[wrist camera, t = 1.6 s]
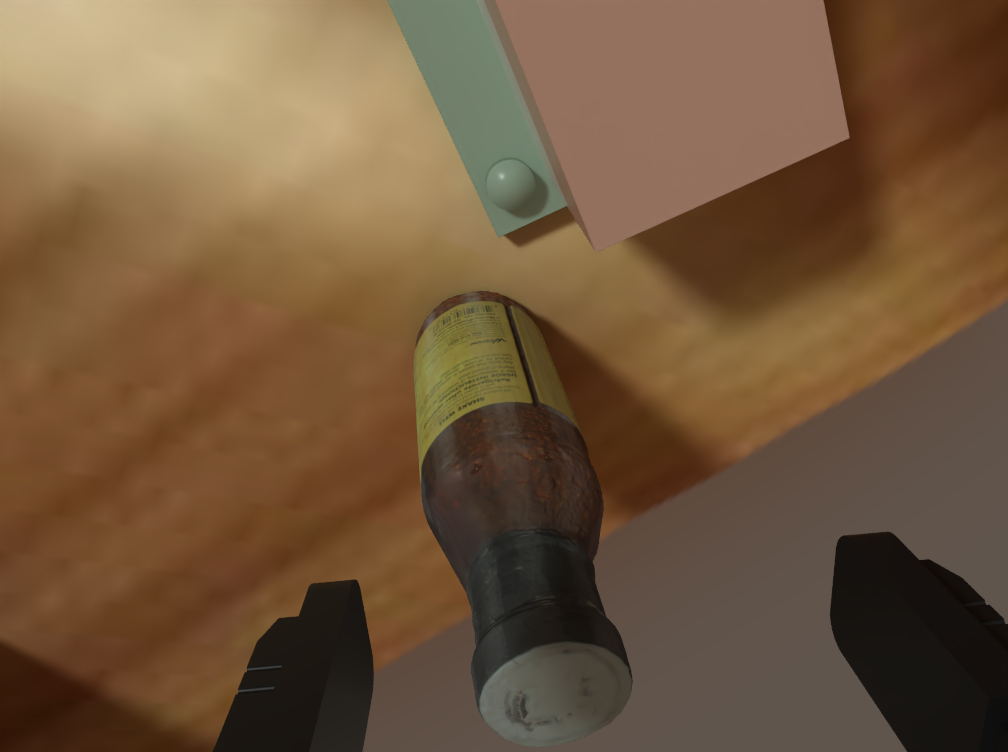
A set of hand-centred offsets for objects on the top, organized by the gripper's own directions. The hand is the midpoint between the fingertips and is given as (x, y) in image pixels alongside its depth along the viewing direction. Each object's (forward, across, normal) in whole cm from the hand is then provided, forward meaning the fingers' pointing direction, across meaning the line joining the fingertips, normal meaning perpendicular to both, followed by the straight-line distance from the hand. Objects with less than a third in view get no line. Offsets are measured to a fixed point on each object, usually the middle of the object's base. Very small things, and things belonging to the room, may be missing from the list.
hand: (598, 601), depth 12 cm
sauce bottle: (+24, +2, +3) cm, 24 cm away
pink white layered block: (+22, -3, -12) cm, 25 cm away
